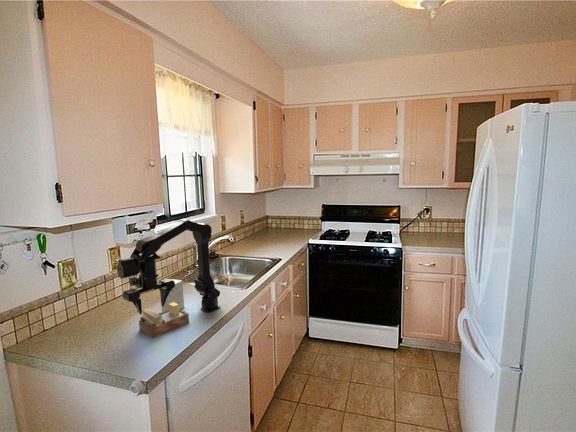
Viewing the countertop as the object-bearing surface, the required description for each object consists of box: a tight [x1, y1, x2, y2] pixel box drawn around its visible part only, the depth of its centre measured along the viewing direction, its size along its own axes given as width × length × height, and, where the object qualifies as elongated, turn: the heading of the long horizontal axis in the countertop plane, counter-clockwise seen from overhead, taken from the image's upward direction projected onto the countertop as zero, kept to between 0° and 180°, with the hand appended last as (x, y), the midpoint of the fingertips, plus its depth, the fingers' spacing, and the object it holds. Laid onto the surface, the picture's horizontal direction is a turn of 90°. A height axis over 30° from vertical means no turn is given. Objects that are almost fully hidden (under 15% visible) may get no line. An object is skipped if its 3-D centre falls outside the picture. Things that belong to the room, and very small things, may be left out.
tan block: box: [141, 308, 163, 327], centre depth 130 cm, size 2×11×4 cm, turn 50°
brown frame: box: [138, 309, 190, 339], centre depth 134 cm, size 16×10×5 cm, turn 140°
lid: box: [143, 302, 183, 326], centre depth 133 cm, size 14×8×5 cm, turn 140°
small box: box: [159, 278, 185, 313], centre depth 149 cm, size 8×6×13 cm
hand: (151, 310), depth 129 cm, fingers open, 9 cm apart
